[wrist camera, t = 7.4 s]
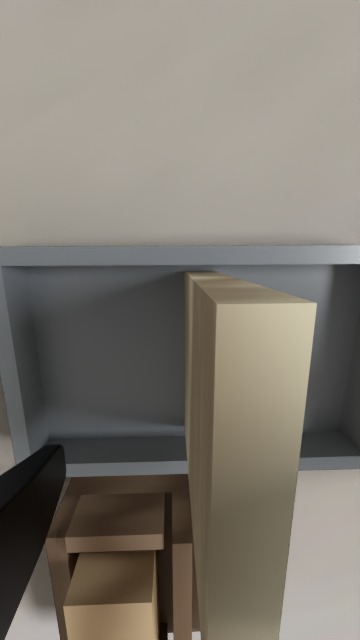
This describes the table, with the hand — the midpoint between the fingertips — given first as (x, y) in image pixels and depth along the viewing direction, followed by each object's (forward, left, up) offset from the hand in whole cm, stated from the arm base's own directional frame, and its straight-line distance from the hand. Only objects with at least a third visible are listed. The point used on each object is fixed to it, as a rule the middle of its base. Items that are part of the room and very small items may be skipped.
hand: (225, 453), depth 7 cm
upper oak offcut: (+5, +14, -5) cm, 16 cm away
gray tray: (0, 0, -8) cm, 8 cm away
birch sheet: (0, 0, -8) cm, 8 cm away
